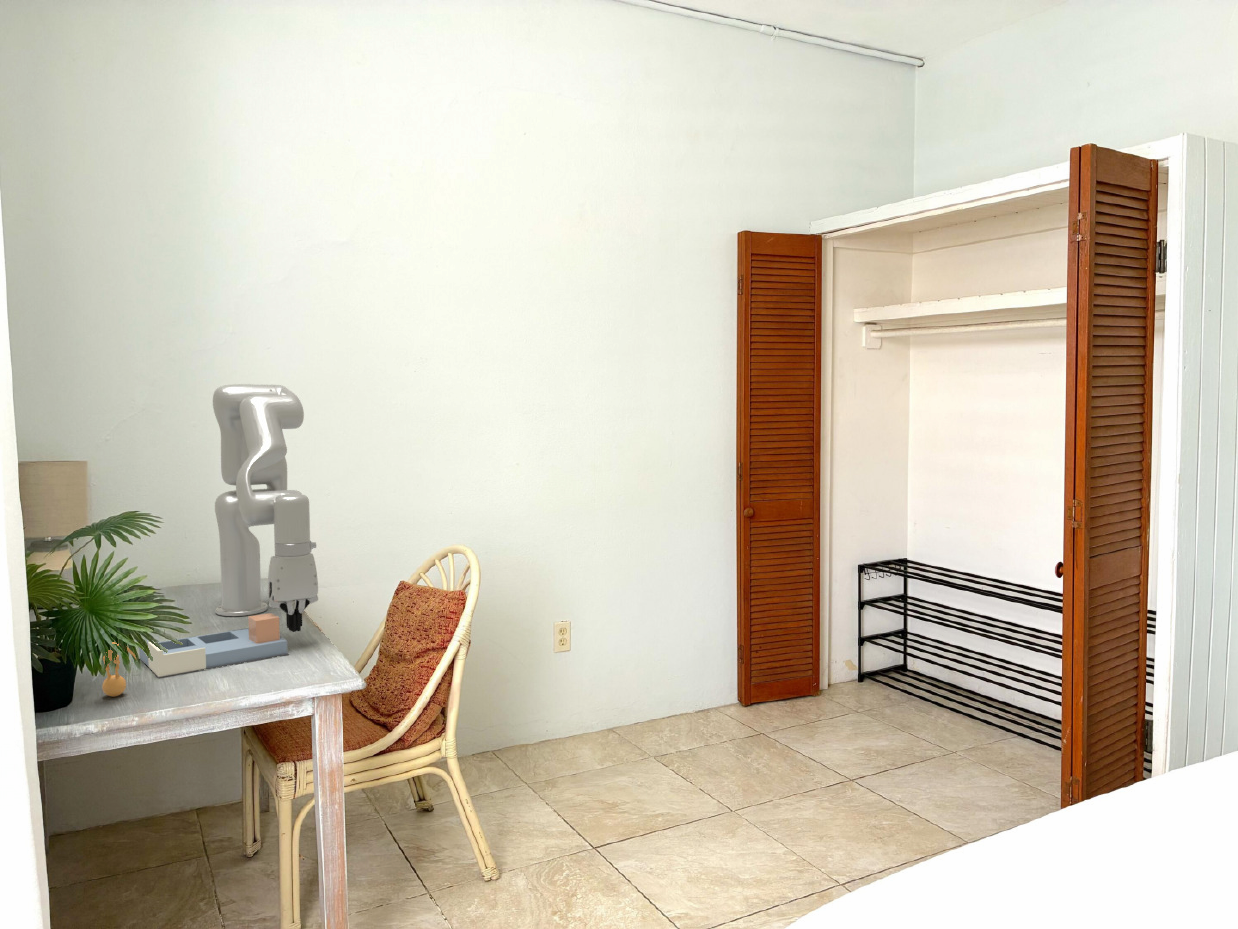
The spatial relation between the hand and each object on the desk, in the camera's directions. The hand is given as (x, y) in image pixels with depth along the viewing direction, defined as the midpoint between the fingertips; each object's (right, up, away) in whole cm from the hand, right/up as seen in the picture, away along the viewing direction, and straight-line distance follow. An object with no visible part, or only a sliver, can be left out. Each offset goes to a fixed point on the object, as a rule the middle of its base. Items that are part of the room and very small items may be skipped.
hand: (294, 630), depth 207 cm
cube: (-5, -1, -4) cm, 7 cm away
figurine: (-22, -7, -34) cm, 41 cm away
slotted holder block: (-15, -4, -7) cm, 17 cm away
